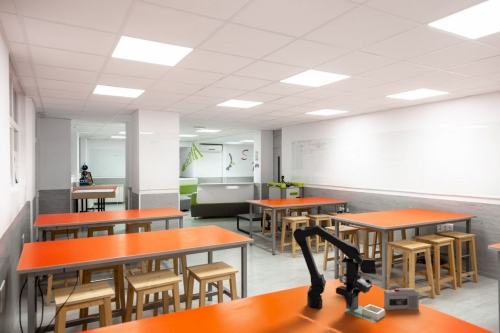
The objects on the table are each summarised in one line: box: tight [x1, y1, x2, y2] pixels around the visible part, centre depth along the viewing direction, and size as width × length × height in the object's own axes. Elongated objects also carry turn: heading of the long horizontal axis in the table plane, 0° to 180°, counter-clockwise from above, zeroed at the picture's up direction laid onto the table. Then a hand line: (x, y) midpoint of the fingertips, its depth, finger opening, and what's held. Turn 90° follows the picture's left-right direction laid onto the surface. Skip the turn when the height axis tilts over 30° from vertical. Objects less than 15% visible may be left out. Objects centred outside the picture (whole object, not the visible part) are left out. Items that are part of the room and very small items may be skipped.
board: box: [343, 304, 387, 324], centre depth 147 cm, size 15×11×1 cm
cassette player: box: [383, 287, 420, 311], centre depth 152 cm, size 16×3×10 cm, turn 94°
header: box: [362, 303, 386, 321], centre depth 146 cm, size 8×7×3 cm
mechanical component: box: [338, 274, 347, 287], centre depth 169 cm, size 3×10×10 cm, turn 43°
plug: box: [345, 295, 359, 311], centre depth 149 cm, size 4×4×6 cm
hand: (352, 305), depth 149 cm, fingers closed on plug, 4 cm apart
